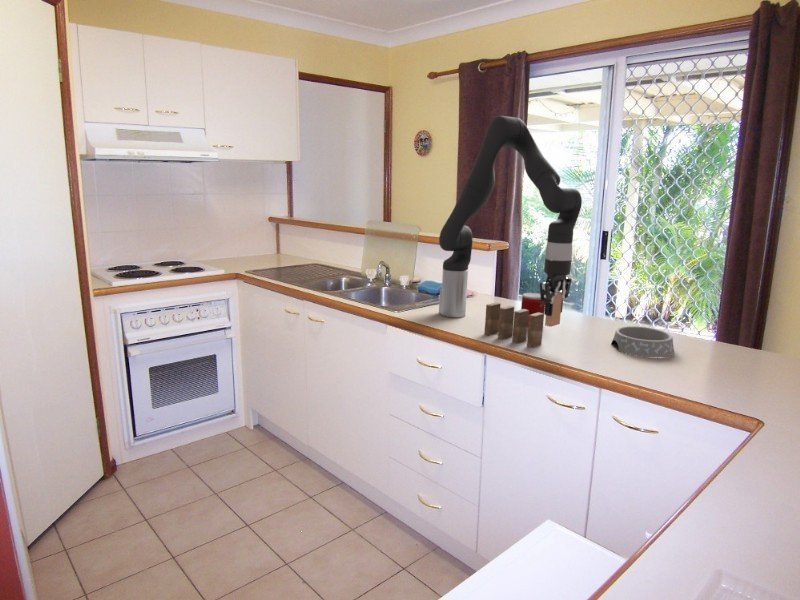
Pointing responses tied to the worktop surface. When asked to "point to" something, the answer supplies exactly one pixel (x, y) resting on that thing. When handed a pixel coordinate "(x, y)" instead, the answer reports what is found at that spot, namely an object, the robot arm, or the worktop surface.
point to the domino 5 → (555, 311)
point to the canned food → (532, 303)
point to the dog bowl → (644, 341)
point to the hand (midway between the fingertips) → (553, 313)
